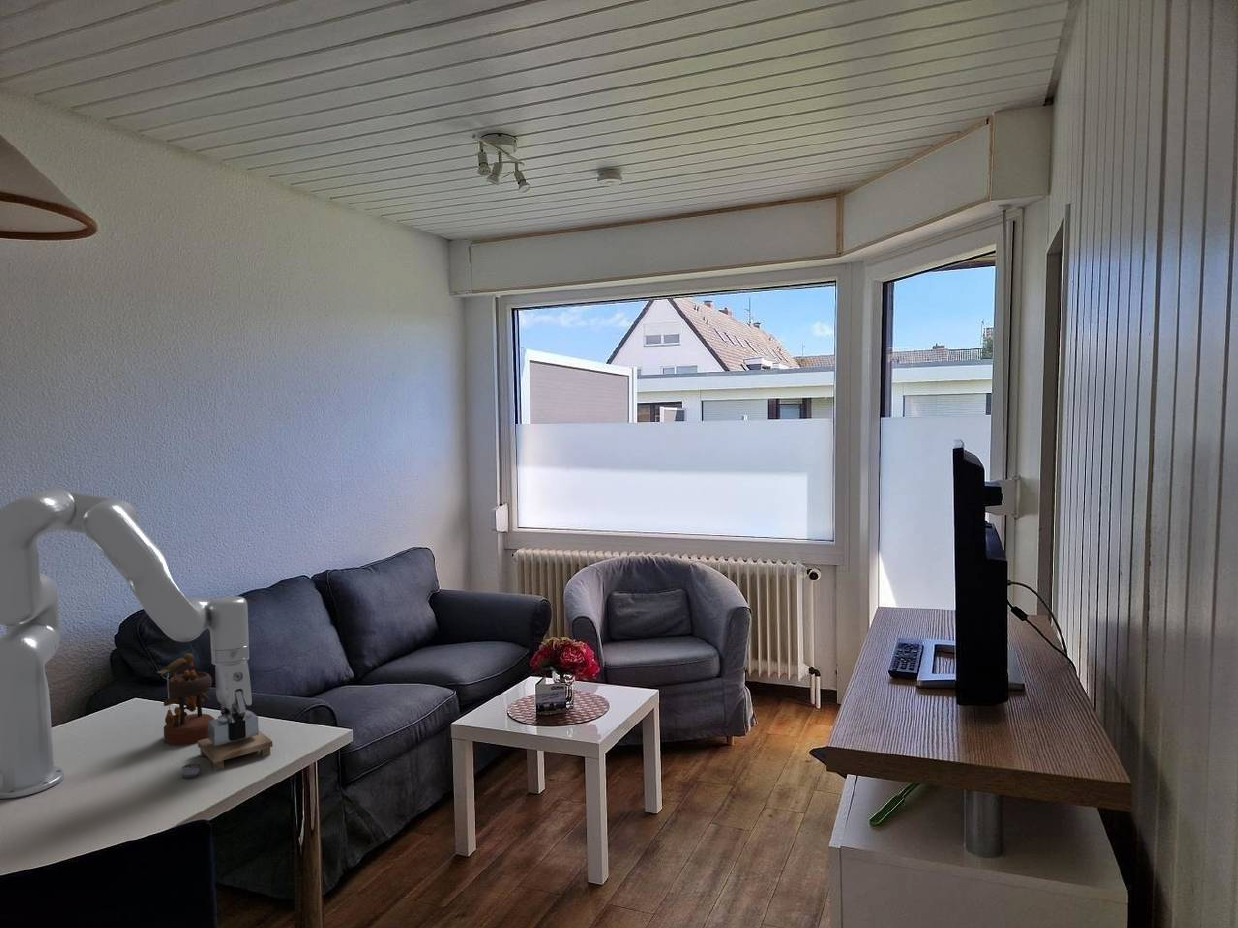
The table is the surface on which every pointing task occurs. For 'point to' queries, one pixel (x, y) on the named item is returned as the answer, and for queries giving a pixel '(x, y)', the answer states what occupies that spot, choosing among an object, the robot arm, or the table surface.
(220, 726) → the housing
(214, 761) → the stand
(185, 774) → the dark grey round piece
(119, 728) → the table surface
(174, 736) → the music box
